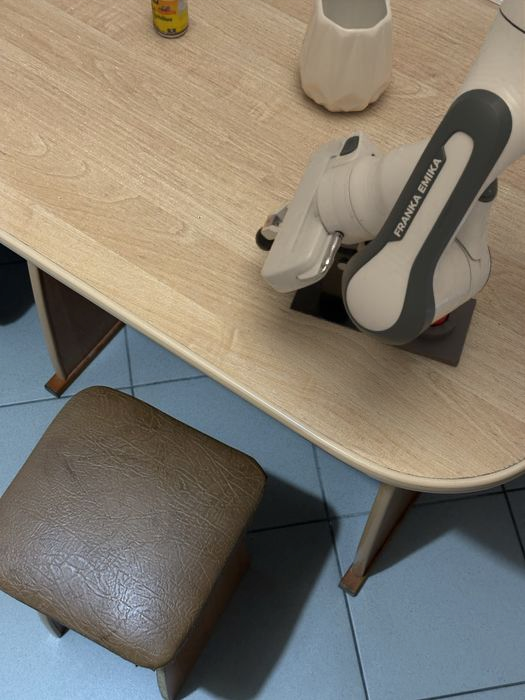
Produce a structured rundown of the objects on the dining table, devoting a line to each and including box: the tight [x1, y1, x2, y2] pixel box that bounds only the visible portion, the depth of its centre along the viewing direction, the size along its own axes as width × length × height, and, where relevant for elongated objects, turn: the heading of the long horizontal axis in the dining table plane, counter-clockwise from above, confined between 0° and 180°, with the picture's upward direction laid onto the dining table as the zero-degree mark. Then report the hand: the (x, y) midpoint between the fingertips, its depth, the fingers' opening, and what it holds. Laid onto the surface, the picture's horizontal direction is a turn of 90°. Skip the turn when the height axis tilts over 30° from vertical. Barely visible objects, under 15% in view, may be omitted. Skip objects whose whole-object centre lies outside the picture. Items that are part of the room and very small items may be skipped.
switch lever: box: [254, 226, 365, 252], centre depth 103 cm, size 14×3×3 cm, turn 70°
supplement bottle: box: [150, 0, 190, 39], centre depth 128 cm, size 6×6×10 cm
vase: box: [298, 0, 395, 113], centre depth 121 cm, size 14×14×15 cm
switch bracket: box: [289, 239, 373, 334], centre depth 105 cm, size 11×9×14 cm
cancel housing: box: [380, 297, 477, 368], centre depth 108 cm, size 10×10×4 cm
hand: (267, 227), depth 103 cm, fingers closed
